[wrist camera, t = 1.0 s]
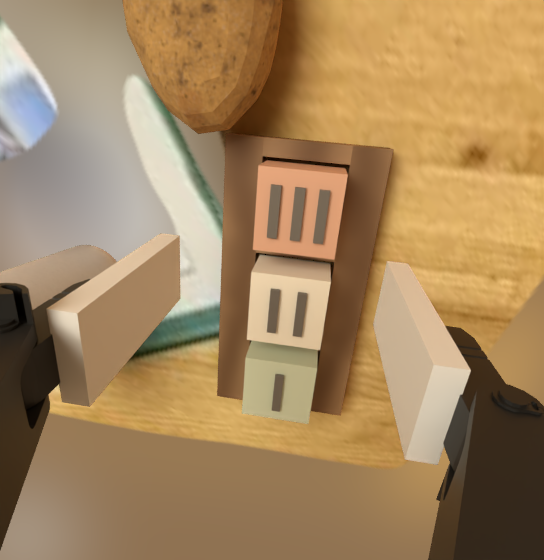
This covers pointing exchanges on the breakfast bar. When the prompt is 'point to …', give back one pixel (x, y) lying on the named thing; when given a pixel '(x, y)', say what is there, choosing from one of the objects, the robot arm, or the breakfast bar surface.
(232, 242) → the board
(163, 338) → the breakfast bar surface
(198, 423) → the breakfast bar surface
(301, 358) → the slotted block
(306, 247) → the tile
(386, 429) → the breakfast bar surface
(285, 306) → the tile
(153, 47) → the potato
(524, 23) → the breakfast bar surface
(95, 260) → the coffee cup
